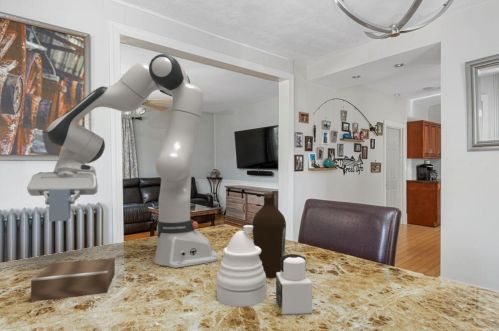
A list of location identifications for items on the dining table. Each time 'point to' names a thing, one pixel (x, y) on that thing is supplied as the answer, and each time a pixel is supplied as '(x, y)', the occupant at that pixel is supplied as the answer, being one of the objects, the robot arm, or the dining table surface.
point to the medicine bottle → (293, 286)
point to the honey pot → (241, 272)
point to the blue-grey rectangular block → (59, 204)
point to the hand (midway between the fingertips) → (59, 203)
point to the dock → (73, 279)
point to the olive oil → (270, 235)
